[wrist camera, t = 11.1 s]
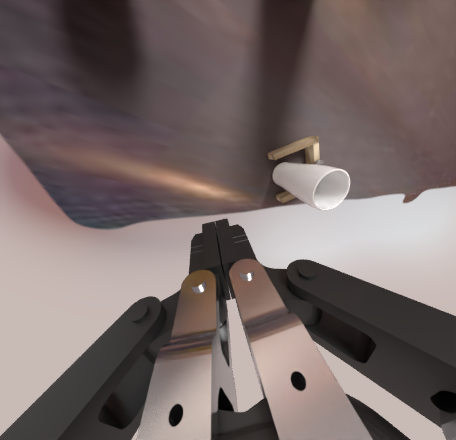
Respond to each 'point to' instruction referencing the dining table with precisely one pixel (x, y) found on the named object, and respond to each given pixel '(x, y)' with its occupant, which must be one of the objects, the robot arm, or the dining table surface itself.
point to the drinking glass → (313, 183)
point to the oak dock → (310, 151)
